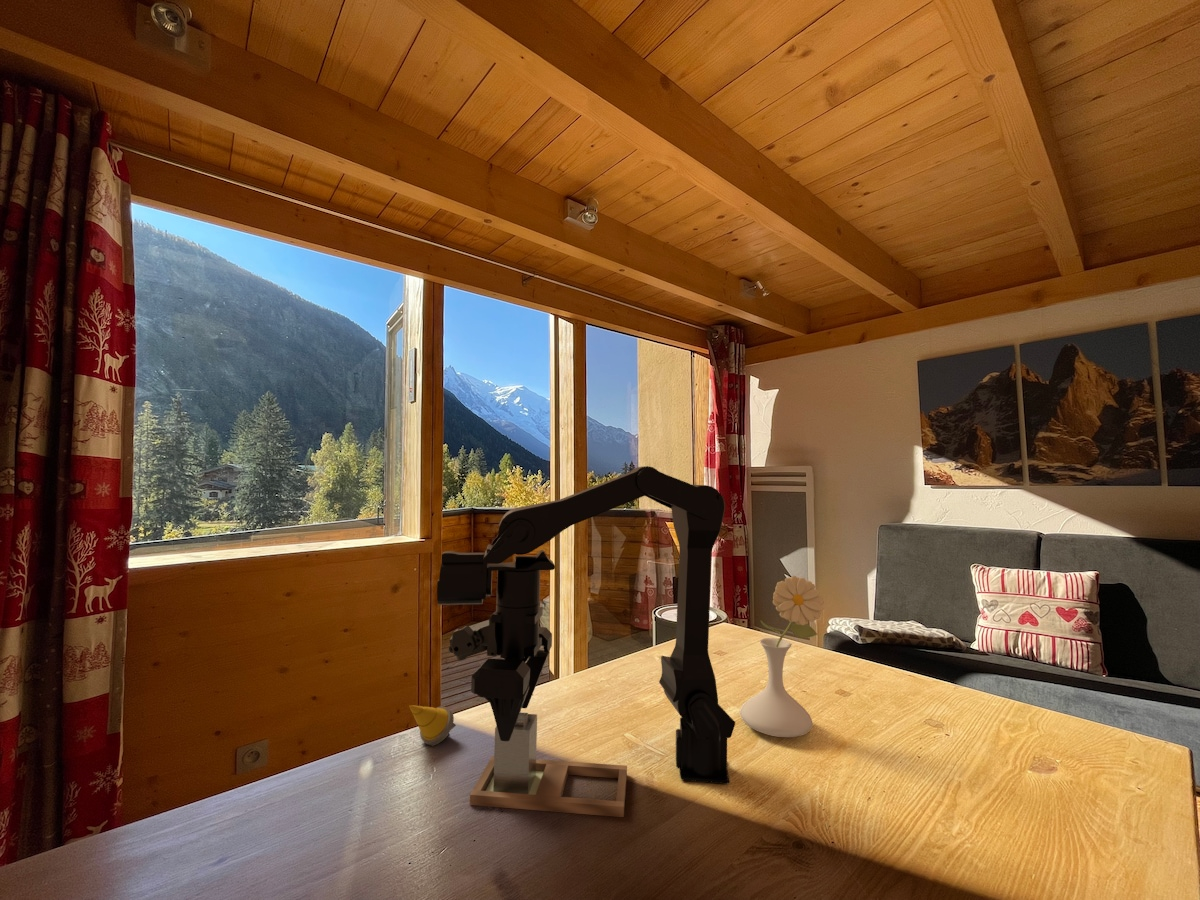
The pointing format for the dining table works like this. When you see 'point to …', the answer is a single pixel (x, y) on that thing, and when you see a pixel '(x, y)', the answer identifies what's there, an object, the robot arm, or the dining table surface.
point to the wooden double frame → (554, 789)
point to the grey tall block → (516, 757)
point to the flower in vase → (774, 704)
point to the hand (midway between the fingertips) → (514, 723)
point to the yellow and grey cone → (433, 723)
